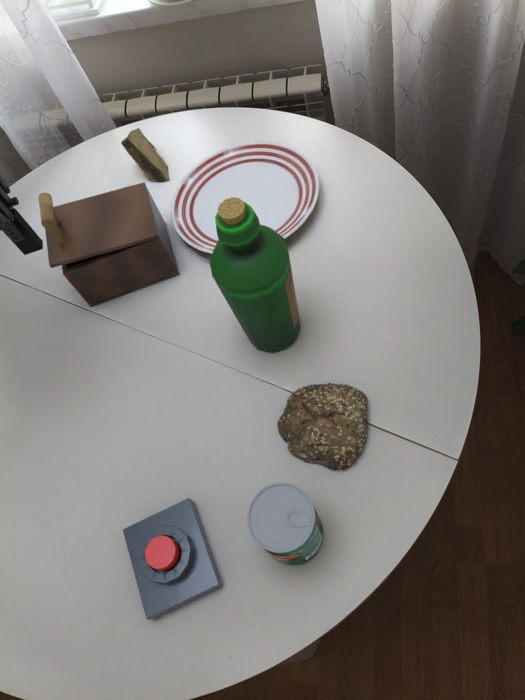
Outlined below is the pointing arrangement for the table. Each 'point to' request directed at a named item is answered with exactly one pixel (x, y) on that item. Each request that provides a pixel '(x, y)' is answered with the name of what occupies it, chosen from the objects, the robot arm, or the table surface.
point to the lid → (97, 224)
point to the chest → (124, 267)
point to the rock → (145, 156)
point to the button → (162, 553)
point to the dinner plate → (246, 190)
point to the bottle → (255, 276)
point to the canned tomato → (286, 524)
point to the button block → (191, 568)
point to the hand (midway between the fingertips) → (33, 247)
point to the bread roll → (325, 424)
